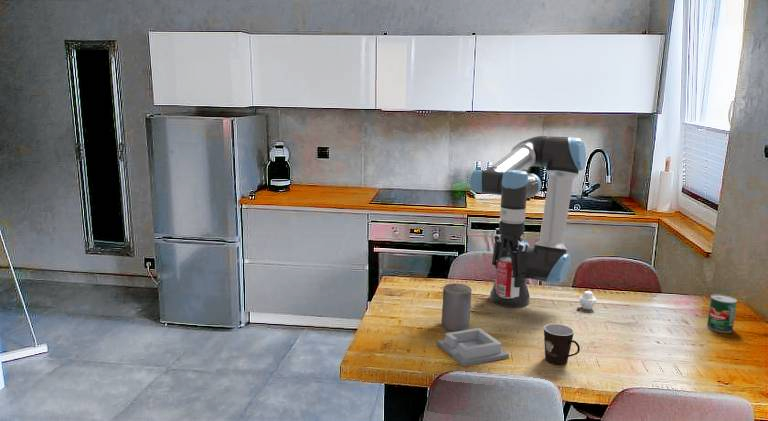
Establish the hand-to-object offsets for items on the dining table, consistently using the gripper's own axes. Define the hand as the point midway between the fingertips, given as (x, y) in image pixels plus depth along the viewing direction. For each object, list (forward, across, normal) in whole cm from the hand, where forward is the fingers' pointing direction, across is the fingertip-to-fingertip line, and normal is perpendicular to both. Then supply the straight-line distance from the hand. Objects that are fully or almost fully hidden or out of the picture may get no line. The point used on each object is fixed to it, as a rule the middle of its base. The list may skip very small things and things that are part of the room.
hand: (507, 292), depth 176 cm
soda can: (+1, 0, 0) cm, 1 cm away
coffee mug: (+18, +16, +8) cm, 26 cm away
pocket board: (+18, 0, -12) cm, 21 cm away
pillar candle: (+18, -19, -6) cm, 27 cm away
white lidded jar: (+17, -15, +49) cm, 54 cm away
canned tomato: (+17, +17, +79) cm, 83 cm away
